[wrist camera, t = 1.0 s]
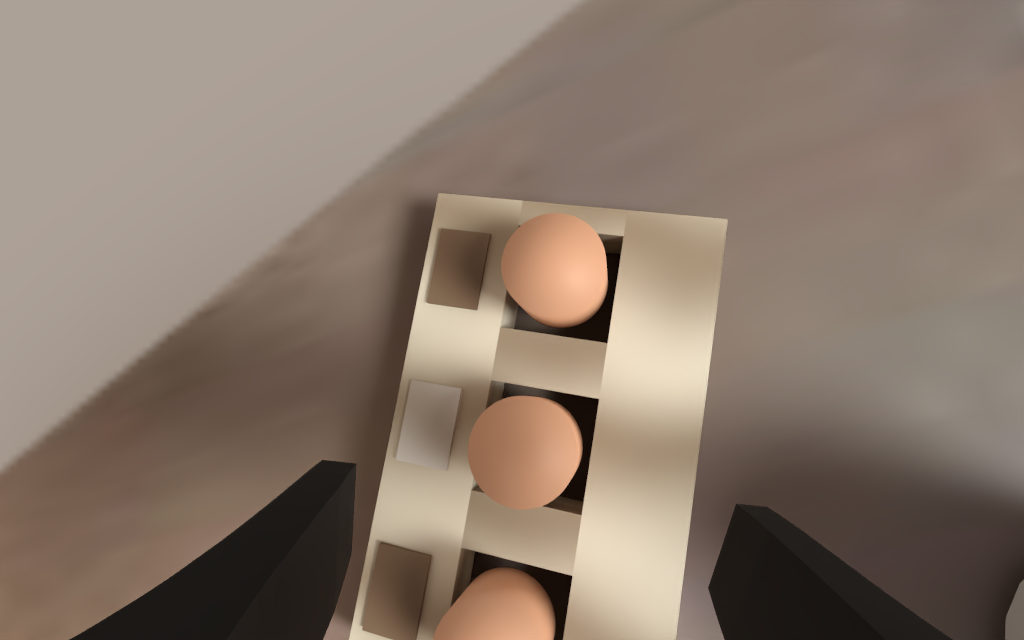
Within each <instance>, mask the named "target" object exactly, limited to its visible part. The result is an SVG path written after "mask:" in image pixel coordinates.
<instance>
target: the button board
mask: <svg viewBox="0 0 1024 640" xmlns="http://www.w3.org/2000/svg"><path fill="white" fill-rule="evenodd" d="M549 213H563V214H568V215H572V216H575V217H577V218H579V219H581V220H583V221H584V222H586V223H587V224H588V225H590V226H591V227H592V228H593V229H594V230H595V231H596V233H597V234H598V236H599V237H600V239H601V241H602V243H603V246H604V249H605V253H613V254H621V257H620V264H619V270H618V277H617V284H616V290H615V297H614V304H613V310H612V317H611V324H610V330H609V337H608V343H603V342H596V341H590V340H583V339H576V338H570V337H563V336H556V335H550V334H543V333H536V332H530V331H523V330H516V329H514V327H515V321H516V315H517V309H518V303H517V302H516V301H515V300H514V299H513V298H512V296H511V295H510V294H509V292H508V291H507V289H506V287H505V284H504V281H503V278H502V272H501V261H502V255H503V251H504V248H505V246H506V244H507V242H508V240H509V238H510V237H511V236H512V234H513V233H514V232H515V231H516V230H517V229H518V228H519V227H520V226H521V225H522V224H524V223H525V222H527V221H528V220H530V219H532V218H534V217H537V216H540V215H544V214H549ZM727 222H728V219H718V218H707V217H696V216H685V215H674V214H663V213H652V212H641V211H630V210H619V209H608V208H597V207H586V206H575V205H564V204H553V203H542V202H531V201H520V200H509V199H498V198H487V197H476V196H465V195H454V194H443V193H438V198H437V203H436V208H435V213H434V218H433V223H432V228H431V233H430V238H429V243H428V248H427V253H426V258H425V263H424V268H423V273H422V278H421V283H420V288H419V293H418V298H417V303H416V308H415V313H414V318H413V323H412V328H411V333H410V338H409V343H408V348H407V353H406V358H405V363H404V368H403V373H402V378H401V383H400V388H399V393H398V398H397V403H396V408H395V413H394V418H393V423H392V428H391V433H390V438H389V443H388V448H387V453H386V458H385V463H384V468H383V473H382V478H381V483H380V488H379V493H378V498H377V503H376V508H375V513H374V518H373V523H372V528H371V533H370V538H369V543H368V548H367V553H366V558H365V563H364V568H363V573H362V578H361V583H360V588H359V593H358V598H357V603H356V608H355V613H354V618H353V623H352V628H351V633H350V638H349V640H433V638H434V634H435V631H436V629H437V626H438V625H439V623H440V621H441V619H442V618H443V617H444V615H445V614H446V613H447V611H448V610H449V609H450V608H451V607H452V605H453V604H454V603H455V602H456V600H457V599H458V598H459V597H460V596H461V594H462V593H463V592H464V591H465V589H466V588H467V587H468V586H469V585H470V579H471V573H472V568H473V562H474V556H475V551H477V552H481V553H485V554H489V555H493V556H496V557H500V558H504V559H508V560H512V561H516V562H520V563H524V564H528V565H532V566H536V567H540V568H543V569H547V570H551V571H555V572H559V573H563V574H567V575H571V576H572V583H571V590H570V596H569V603H568V609H567V616H566V623H565V629H564V636H563V640H676V633H677V624H678V616H679V608H680V600H681V592H682V584H683V576H684V568H685V560H686V552H687V544H688V536H689V528H690V520H691V512H692V504H693V496H694V488H695V479H696V471H697V463H698V455H699V447H700V439H701V431H702V423H703V415H704V407H705V399H706V391H707V383H708V375H709V367H710V359H711V351H712V343H713V335H714V326H715V318H716V310H717V302H718V294H719V286H720V278H721V270H722V262H723V254H724V246H725V238H726V230H727ZM505 383H510V384H516V385H521V386H527V387H533V388H539V389H544V390H550V391H556V392H561V393H567V394H573V395H579V396H584V397H590V398H596V399H599V403H598V410H597V417H596V423H595V430H594V437H593V443H592V450H591V457H590V463H589V470H588V476H587V483H586V490H585V496H584V502H583V501H579V500H574V499H569V498H565V497H560V496H558V497H557V498H555V499H554V500H553V501H551V502H549V503H548V504H546V505H543V506H541V507H538V508H534V509H527V510H520V509H513V508H509V507H506V506H503V505H501V504H499V503H497V502H495V501H494V500H492V499H491V498H490V497H489V496H487V495H486V494H485V493H484V492H483V491H482V490H481V488H480V487H479V485H478V484H477V482H476V481H475V479H474V477H473V474H472V472H471V469H470V465H469V460H468V443H469V438H470V434H471V431H472V429H473V426H474V424H475V423H476V421H477V419H478V418H479V417H480V415H481V414H482V413H483V412H484V411H485V410H486V409H487V408H488V407H490V406H491V405H492V404H494V403H496V402H497V401H500V400H502V395H503V390H504V384H505Z"/></svg>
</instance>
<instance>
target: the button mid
mask: <svg viewBox="0 0 1024 640" xmlns="http://www.w3.org/2000/svg"><path fill="white" fill-rule="evenodd" d="M582 452H583V440H582V435H581V431H580V428H579V426H578V424H577V422H576V420H575V419H574V417H573V416H572V415H571V413H570V412H569V411H568V410H567V409H566V408H564V407H563V406H562V405H560V404H559V403H557V402H555V401H553V400H550V399H547V398H542V397H532V396H513V397H508V398H505V399H502V400H500V401H497V402H496V403H494V404H492V405H491V406H490V407H488V408H487V409H486V410H485V411H484V412H483V413H482V414H481V415H480V417H479V418H478V419H477V421H476V423H475V424H474V426H473V429H472V431H471V434H470V438H469V443H468V460H469V465H470V469H471V472H472V474H473V477H474V479H475V481H476V482H477V484H478V485H479V487H480V488H481V490H482V491H483V492H484V493H485V494H486V495H487V496H489V497H490V498H491V499H492V500H494V501H495V502H497V503H499V504H501V505H503V506H506V507H509V508H513V509H520V510H527V509H534V508H538V507H541V506H543V505H546V504H548V503H549V502H551V501H553V500H554V499H555V498H557V497H558V496H559V495H560V494H561V493H562V492H563V491H564V490H565V488H566V487H567V485H568V484H569V482H570V481H571V479H572V477H573V476H574V474H575V472H576V471H577V469H578V467H579V464H580V462H581V458H582Z"/></svg>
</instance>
